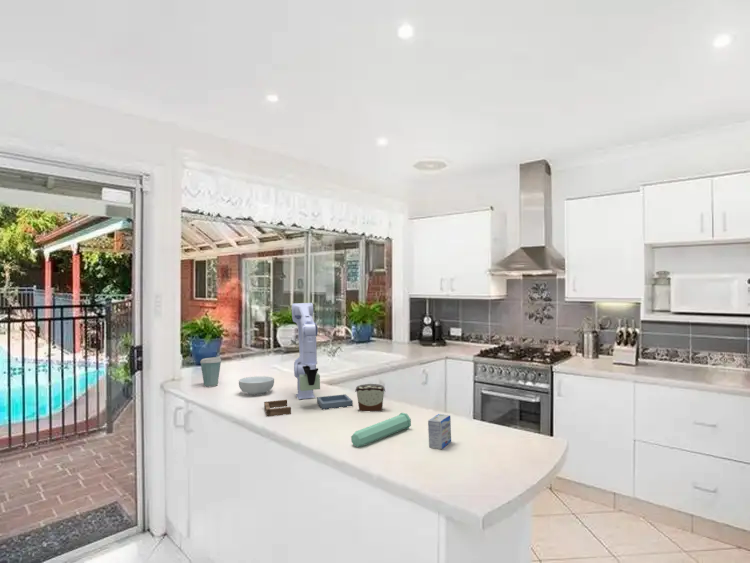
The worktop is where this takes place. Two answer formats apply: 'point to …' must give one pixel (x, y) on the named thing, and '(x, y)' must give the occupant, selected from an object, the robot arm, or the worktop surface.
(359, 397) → the food container
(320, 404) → the tray
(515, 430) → the worktop surface
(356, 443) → the container
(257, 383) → the cereal bowl
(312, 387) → the tall sage green block
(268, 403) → the holder
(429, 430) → the medicine box
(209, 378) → the disposable coffee cup
